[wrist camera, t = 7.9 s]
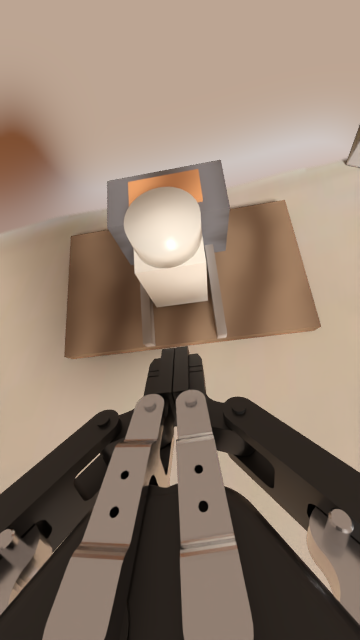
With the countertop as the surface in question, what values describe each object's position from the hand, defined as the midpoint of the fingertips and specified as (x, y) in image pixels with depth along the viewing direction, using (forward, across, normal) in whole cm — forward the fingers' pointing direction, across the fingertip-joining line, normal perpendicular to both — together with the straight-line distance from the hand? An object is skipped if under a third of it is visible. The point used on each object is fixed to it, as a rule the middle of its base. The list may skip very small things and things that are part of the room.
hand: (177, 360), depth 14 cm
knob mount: (+13, 0, 0) cm, 13 cm away
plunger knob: (+12, 0, -1) cm, 12 cm away
